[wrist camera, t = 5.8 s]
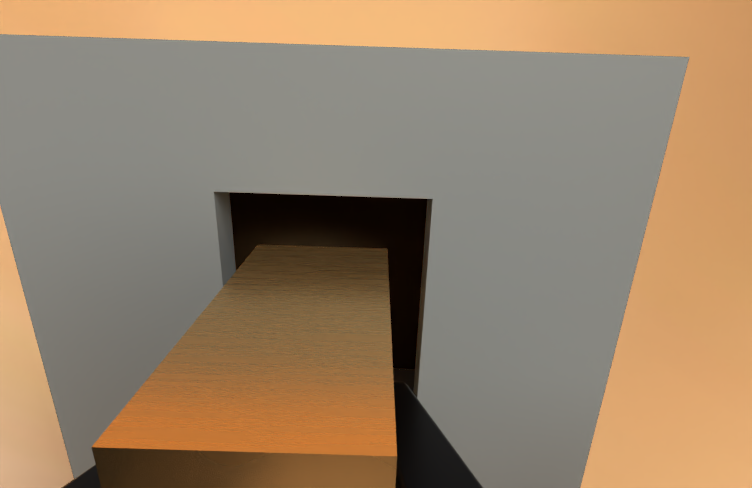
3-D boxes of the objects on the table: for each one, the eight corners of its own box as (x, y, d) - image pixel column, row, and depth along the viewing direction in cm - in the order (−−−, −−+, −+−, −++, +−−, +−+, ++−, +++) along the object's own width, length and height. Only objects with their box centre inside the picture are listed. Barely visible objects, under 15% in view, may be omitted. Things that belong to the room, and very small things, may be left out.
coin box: (492, 388, 18) (560, 565, 11) (201, 378, 18) (93, 550, 11) (538, 75, 14) (689, 56, 7) (162, 62, 14) (-46, 33, 7)
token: (379, 451, 10) (378, 778, 5) (271, 448, 10) (170, 773, 5) (387, 248, 8) (396, 455, 3) (257, 244, 8) (90, 448, 3)
